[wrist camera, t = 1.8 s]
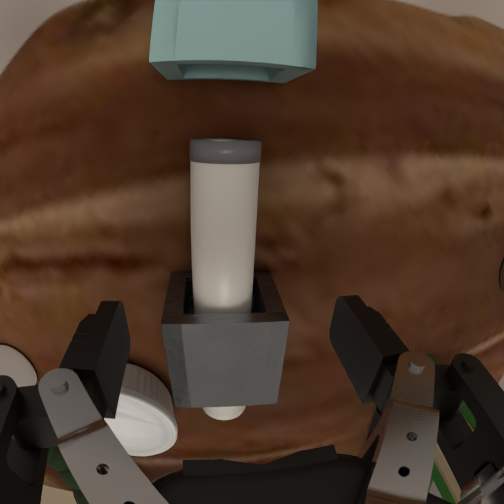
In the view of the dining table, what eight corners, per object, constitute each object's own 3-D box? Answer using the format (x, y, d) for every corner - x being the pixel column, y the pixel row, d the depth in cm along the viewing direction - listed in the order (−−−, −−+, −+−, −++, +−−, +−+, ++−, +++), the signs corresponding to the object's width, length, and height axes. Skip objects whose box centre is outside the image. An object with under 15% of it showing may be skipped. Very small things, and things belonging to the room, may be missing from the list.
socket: (287, 8, 16) (317, -29, 10) (284, 83, 18) (315, 69, 13) (173, 3, 15) (161, -39, 9) (167, 79, 17) (148, 62, 11)
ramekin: (151, 341, 26) (143, 385, 21) (195, 412, 30) (196, 451, 25) (58, 359, 25) (42, 396, 21) (111, 423, 30) (104, 457, 25)
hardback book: (379, 383, 32) (464, 544, 11) (429, 354, 32) (528, 497, 10) (389, 436, 40) (442, 548, 18) (427, 414, 39) (488, 519, 18)
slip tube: (256, 138, 19) (267, 142, 15) (243, 386, 28) (249, 419, 24) (192, 137, 18) (187, 141, 15) (200, 387, 27) (201, 421, 23)
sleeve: (269, 271, 24) (289, 320, 18) (263, 349, 27) (276, 403, 21) (171, 272, 23) (160, 324, 17) (179, 351, 26) (175, 407, 20)
